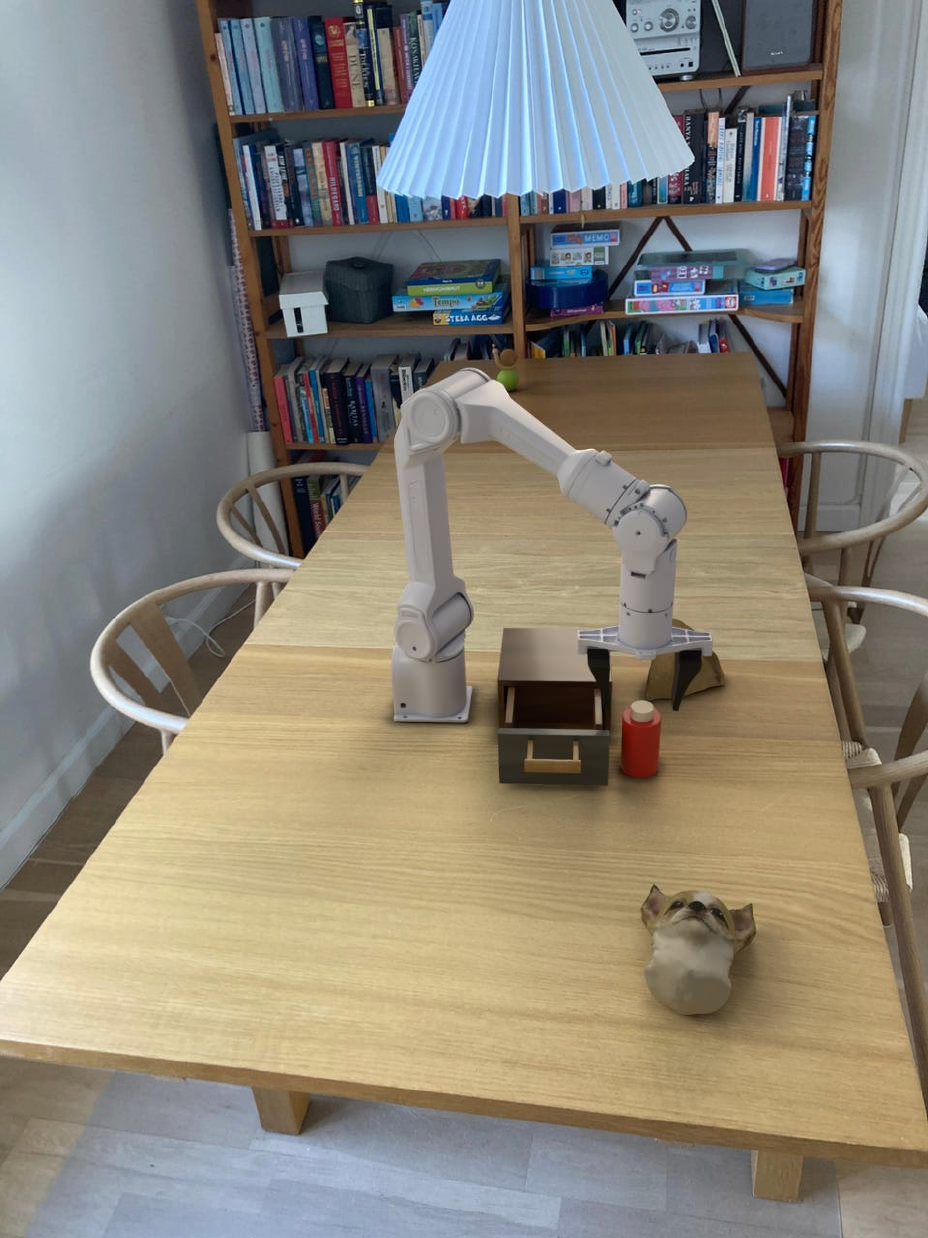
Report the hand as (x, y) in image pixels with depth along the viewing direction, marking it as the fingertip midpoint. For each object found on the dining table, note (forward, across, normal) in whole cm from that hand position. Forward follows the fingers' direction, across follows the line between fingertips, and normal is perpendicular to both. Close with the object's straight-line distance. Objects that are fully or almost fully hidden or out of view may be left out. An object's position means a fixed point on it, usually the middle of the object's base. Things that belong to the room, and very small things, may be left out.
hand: (640, 705), depth 115 cm
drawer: (+8, -10, -1) cm, 13 cm away
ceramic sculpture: (+9, +3, -30) cm, 31 cm away
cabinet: (+9, -10, +11) cm, 17 cm away
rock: (+9, +7, +17) cm, 21 cm away
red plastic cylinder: (+9, 0, 0) cm, 9 cm away
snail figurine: (+9, -24, +152) cm, 154 cm away
